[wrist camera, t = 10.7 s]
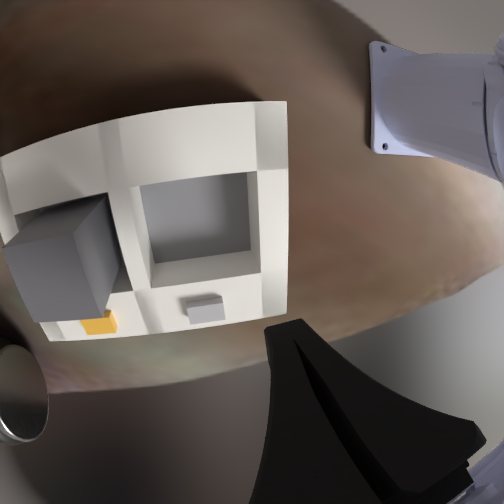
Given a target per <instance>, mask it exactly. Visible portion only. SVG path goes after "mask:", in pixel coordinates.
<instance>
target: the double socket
mask: <svg viewBox="0 0 504 504" xmlns="http://www.w3.org/2000/svg"><path fill="white" fill-rule="evenodd" d="M101 196H106V198H107V203H108V208H109V212H110V217H111V221H112V226H113V230H114V234H115V238H116V242H117V246H118V250H119V254H120V258H121V261H122V262H121V265H120V268H119V270H118V273H117V276H116V279H115V282H114V284H113V287H112V290H111V293H110V296H109V299H108V302H107V305H106V308H105V311H104V315H103V318H98V319H85V320H71V321H56V322H39V323H40V325H41V327H42V328H43V330H44V332H45V334H46V335H47V337H48V339H49V340H50V341H69V340H88V339H102V338H115V337H127V336H137V335H147V334H156V333H165V332H173V331H181V330H189V329H196V328H204V327H210V326H217V325H224V324H230V323H236V322H242V321H248V320H254V319H260V318H265V317H271V316H276V315H281V314H286V309H287V275H288V136H287V103H286V101H262V102H236V103H221V104H209V105H199V106H190V107H182V108H175V109H168V110H161V111H155V112H149V113H144V114H139V115H133V116H128V117H124V118H119V119H115V120H110V121H106V122H102V123H98V124H94V125H90V126H87V127H83V128H80V129H76V130H73V131H69V132H66V133H63V134H60V135H57V136H54V137H51V138H48V139H45V140H42V141H39V142H37V143H34V144H31V145H29V146H26V147H23V148H21V149H18V150H16V151H14V152H11V153H9V154H7V155H4V156H2V157H0V232H1V236H2V239H3V241H4V244H6V243H8V242H9V241H10V240H11V239H12V238H13V237H14V236H15V235H16V234H17V233H18V232H19V231H20V230H22V229H23V228H24V227H25V226H26V225H27V224H28V223H29V222H31V221H32V220H33V219H34V218H35V217H36V216H38V215H39V214H40V213H41V212H42V211H44V210H45V209H46V208H50V207H55V206H59V205H63V204H68V203H72V202H77V201H81V200H86V199H91V198H96V197H101Z"/></svg>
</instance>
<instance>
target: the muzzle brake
mask: <svg viewBox="0 0 504 504" xmlns="http://www.w3.org/2000/svg"><path fill="white" fill-rule="evenodd" d="M48 407H49V403H48V393H47V387H46V383H45V379H44V376H43V373H42V371H41V368H40V366H39V364H38V362H37V361H36V359H35V358H34V356H33V355H32V354H31V353H30V352H29V351H28V350H26V349H25V348H23V347H21V346H19V345H15V344H13V343H12V342H11V341H9V340H8V339H6V338H4V337H0V443H3V444H6V445H16V444H21V443H22V442H28V441H32V440H35V439H36V438H38V437H39V436H40V435H41V433H42V432H43V430H44V428H45V426H46V422H47V418H48Z"/></svg>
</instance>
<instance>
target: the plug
mask: <svg viewBox="0 0 504 504" xmlns="http://www.w3.org/2000/svg"><path fill="white" fill-rule="evenodd" d="M2 251H3V254H4V256H5V259H6V262H7V264H8V267H9V269H10V272H11V274H12V277H13V279H14V281H15V284H16V286H17V288H18V290H19V292H20V295H21V297H22V299H23V301H24V303H25V305H26V307H27V309H28V311H29V313H30V315H31V317H32V319H33V321H34V322H35V323H38V322H56V321H71V320H85V319H98V318H103V315H104V311H105V308H106V305H107V302H108V299H109V296H110V293H111V290H112V287H113V284H114V282H115V279H116V276H117V273H118V270H119V268H120V265H121V262H122V261H121V258H120V254H119V250H118V246H117V242H116V238H115V234H114V230H113V226H112V221H111V217H110V212H109V208H108V203H107V198H106V196H101V197H96V198H91V199H86V200H81V201H77V202H72V203H68V204H63V205H59V206H55V207H50V208H46V209H45V210H44V211H42V212H41V213H40V214H39V215H38V216H36V217H35V218H34V219H33V220H32V221H31V222H29V223H28V224H27V225H26V226H25V227H24V228H23V229H22V230H20V231H19V232H18V233H17V234H16V235H15V236H14V237H13V238H12V239H11V240H10V241H9V242H8V243H6V244H5V245H4V246H3V247H2Z"/></svg>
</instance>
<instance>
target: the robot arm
mask: <svg viewBox="0 0 504 504" xmlns="http://www.w3.org/2000/svg"><path fill="white" fill-rule="evenodd" d="M381 47H382V48H383V50H384V51H382V50H381ZM494 52H495V54H492V53H437V54H422V55H420V54H417V53H414V52H411V51H408V50H405V49H402V48H399V47H396V46H393V45H390V44H386V43H383V42H379V41H372V42H370V44H369V53H370V70H371V149H372V151H373V152H375V153H379V154H399V155H414V156H426V157H437V158H440V159H443V160H446V161H449V162H452V163H455V164H457V165H460V166H463V167H465V168H468V169H471V170H473V171H476V172H478V173H481V174H483V175H486V176H488V177H490V178H493V179H495V180H497V181H499V182H502V183H504V32H503V33H502V34H501V35H500V37H499V39H498V41H497V42H496V43H495V45H494ZM383 144H385V147H384V149H383V148H382V146H383ZM264 334H265V341H266V348H267V355H268V362H269V365H270V369H271V388H270V406H269V416H268V425H267V432H266V437H265V443H264V449H263V454H262V458H261V463H260V467H259V471H258V475H257V479H256V482H255V486H254V489H253V493H252V496H251V498H250V501H249V504H504V438H503V439H502V440H501V441H500V442H499V443H498V444H497V445H496V446H495V447H494V448H493V449H492V450H491V451H490V452H489V453H488V454H486V455H485V456H484V457H483V458H482V459H481V460H480V461H479V462H477V463H476V464H475V465H474V466H473V467H472V468H470V469H469V470H468V471H467V469H466V468H467V467H468V466H469V463H468V461H467V459H468V458H470V457H471V456H472V455H473V454H475V453H476V452H477V451H478V450H479V449H480V448H481V447H482V446H484V445H485V443H486V438H485V437H484V435H483V434H482V432H481V430H480V429H479V427H478V426H477V425H476V424H475V423H474V421H470V420H465V419H462V418H457V417H454V416H451V415H448V414H445V413H442V412H439V411H436V410H433V409H431V408H428V407H426V406H423V405H421V404H419V403H417V402H414V401H412V400H410V399H408V398H406V397H403V396H402V395H400V394H398V393H396V392H394V391H392V390H390V389H389V388H387V387H385V386H384V385H382V384H380V383H379V382H377V381H376V380H374V379H373V378H371V377H370V376H368V375H367V374H365V373H364V372H362V371H361V370H360V369H358V368H357V367H356V366H354V365H353V364H352V363H350V362H349V361H348V360H346V359H345V358H344V357H343V356H342V355H340V354H339V353H338V352H337V351H336V350H334V349H333V348H332V347H331V346H330V345H329V344H328V343H327V342H325V341H324V340H323V339H322V338H321V337H320V336H319V335H318V334H317V333H316V332H315V331H314V330H313V329H312V328H311V327H310V326H309V325H308V324H307V323H306V322H305V321H304V320H303V319H301V318H300V319H296V320H292V321H289V322H285V323H281V324H277V325H273V326H269V327H266V329H265V330H264ZM465 491H466V494H465V495H463V496H461V497H459V496H460V495H461V494H463V493H464V492H465ZM457 497H459V498H457ZM456 498H457V499H456ZM455 499H456V500H455Z"/></svg>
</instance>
